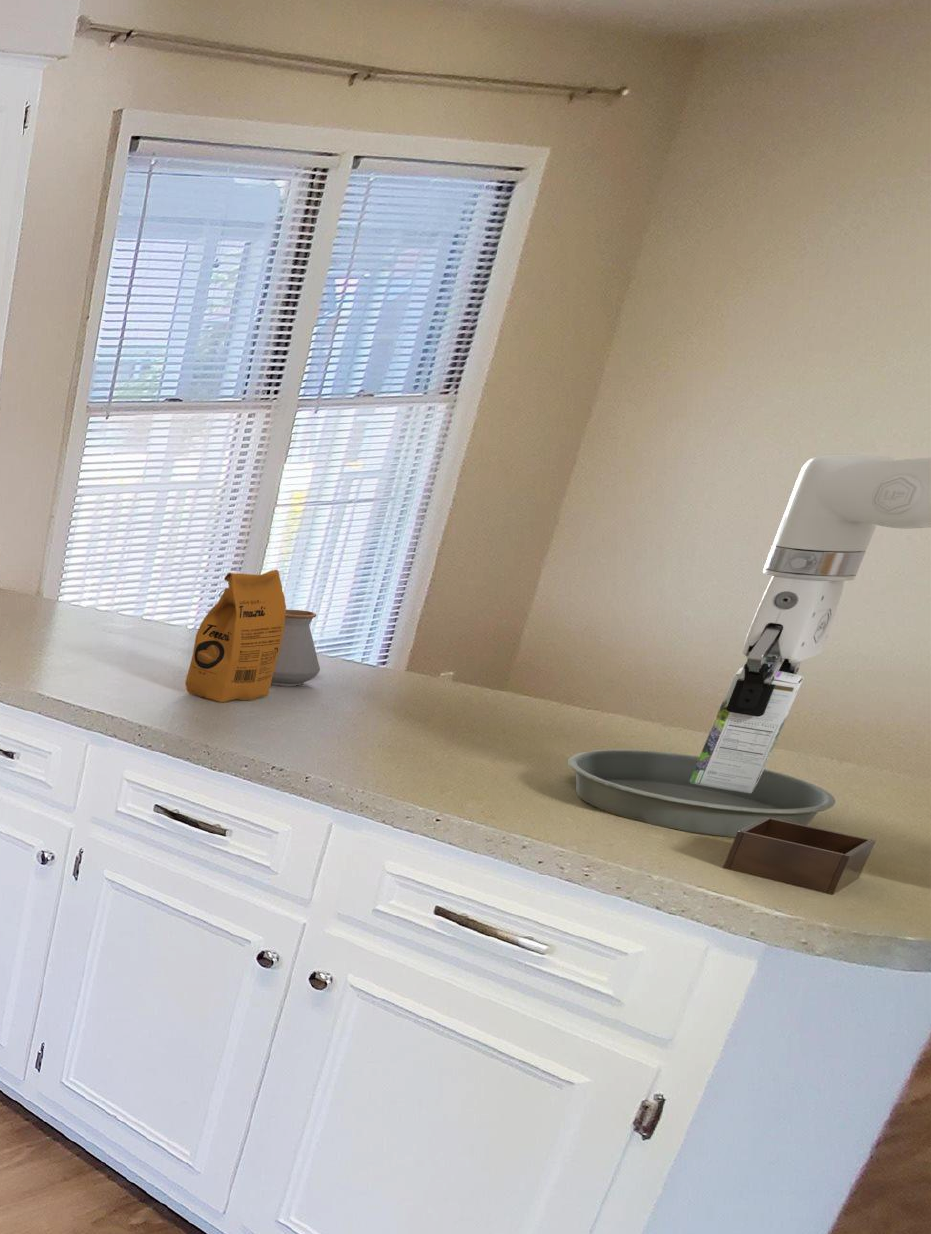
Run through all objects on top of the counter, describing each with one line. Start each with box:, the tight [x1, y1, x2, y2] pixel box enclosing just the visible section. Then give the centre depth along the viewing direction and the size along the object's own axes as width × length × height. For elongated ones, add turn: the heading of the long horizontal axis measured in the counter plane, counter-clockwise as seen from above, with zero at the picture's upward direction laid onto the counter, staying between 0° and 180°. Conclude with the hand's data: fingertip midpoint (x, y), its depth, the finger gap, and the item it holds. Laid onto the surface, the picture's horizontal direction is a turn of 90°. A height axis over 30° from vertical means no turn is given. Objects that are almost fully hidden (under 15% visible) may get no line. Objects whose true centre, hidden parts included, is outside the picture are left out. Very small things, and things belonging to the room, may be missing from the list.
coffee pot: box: [218, 587, 321, 687], centre depth 219 cm, size 21×12×15 cm, turn 17°
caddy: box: [722, 817, 876, 896], centre depth 130 cm, size 9×9×6 cm
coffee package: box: [184, 569, 287, 703], centre depth 205 cm, size 10×12×22 cm
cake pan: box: [567, 749, 836, 838], centre depth 152 cm, size 25×25×4 cm
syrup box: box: [690, 667, 805, 793], centre depth 146 cm, size 6×6×14 cm
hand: (755, 708), depth 145 cm, fingers closed on syrup box, 6 cm apart
